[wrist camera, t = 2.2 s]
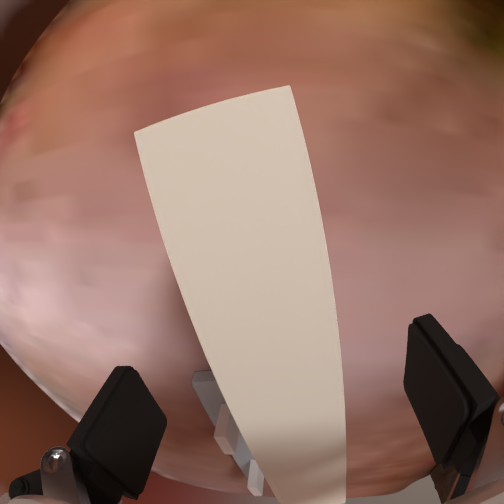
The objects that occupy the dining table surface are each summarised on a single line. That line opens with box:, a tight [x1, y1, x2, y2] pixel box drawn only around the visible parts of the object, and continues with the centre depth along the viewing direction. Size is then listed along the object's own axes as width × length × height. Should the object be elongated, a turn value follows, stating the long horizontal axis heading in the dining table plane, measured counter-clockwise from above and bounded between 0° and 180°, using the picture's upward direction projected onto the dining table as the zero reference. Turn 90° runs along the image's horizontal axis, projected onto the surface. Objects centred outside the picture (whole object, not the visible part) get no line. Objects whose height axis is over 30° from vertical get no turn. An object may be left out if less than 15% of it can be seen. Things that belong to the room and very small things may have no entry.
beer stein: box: [431, 464, 458, 504], centre depth 19 cm, size 15×11×20 cm
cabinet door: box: [134, 85, 346, 504], centre depth 14 cm, size 4×16×14 cm, turn 14°
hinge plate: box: [191, 370, 265, 496], centre depth 24 cm, size 10×20×6 cm, turn 14°
